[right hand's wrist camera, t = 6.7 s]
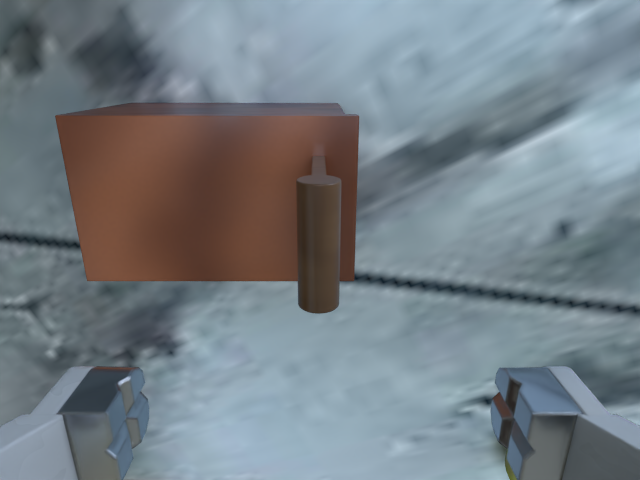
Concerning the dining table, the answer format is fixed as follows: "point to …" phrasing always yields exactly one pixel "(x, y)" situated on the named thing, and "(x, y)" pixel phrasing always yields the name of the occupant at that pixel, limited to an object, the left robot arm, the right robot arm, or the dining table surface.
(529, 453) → the right robot arm
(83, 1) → the dining table surface
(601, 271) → the dining table surface
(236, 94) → the dining table surface
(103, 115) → the lid
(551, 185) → the dining table surface
